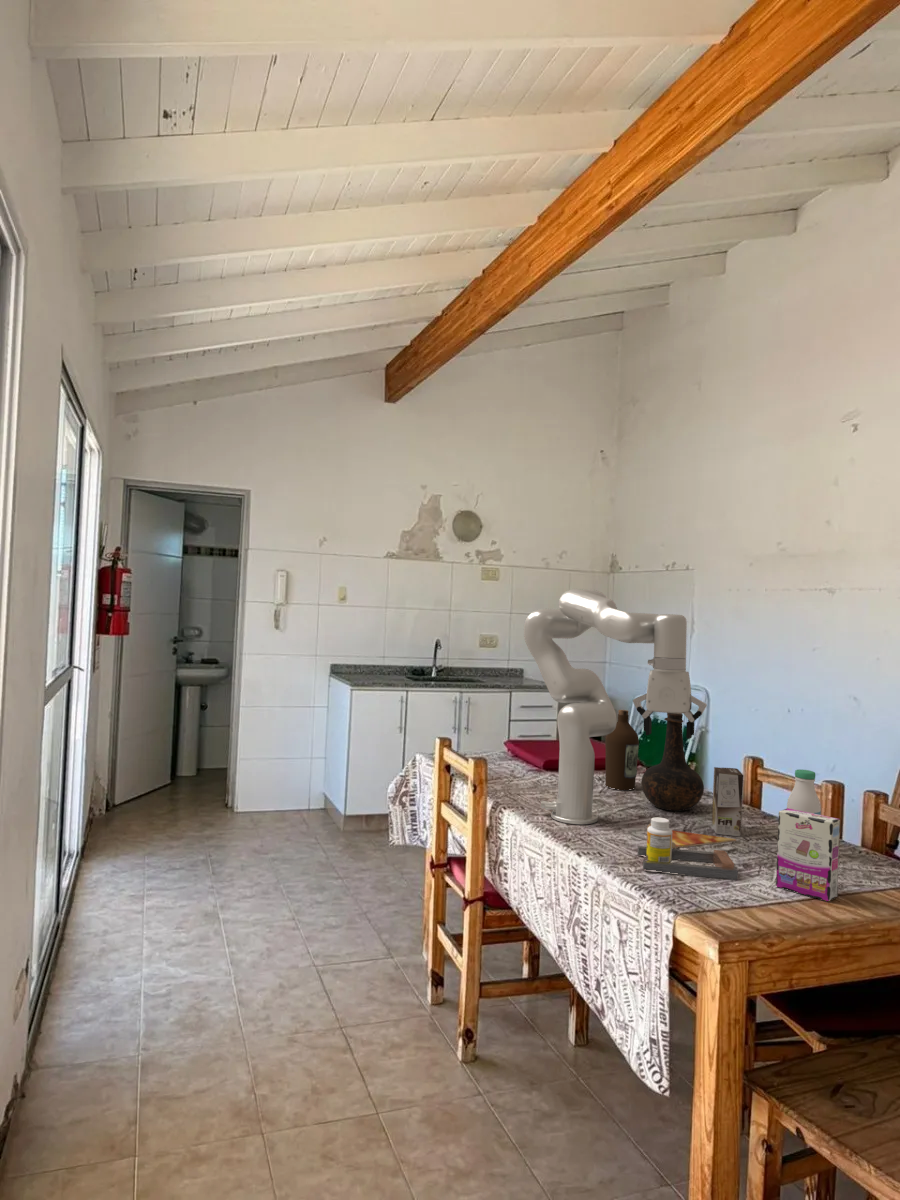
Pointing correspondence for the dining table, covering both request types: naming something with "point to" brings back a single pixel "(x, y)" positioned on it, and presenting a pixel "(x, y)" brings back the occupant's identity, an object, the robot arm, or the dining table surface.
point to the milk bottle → (804, 793)
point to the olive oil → (621, 754)
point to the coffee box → (727, 801)
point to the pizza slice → (694, 839)
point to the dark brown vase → (673, 773)
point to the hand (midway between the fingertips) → (668, 736)
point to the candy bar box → (808, 853)
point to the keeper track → (717, 857)
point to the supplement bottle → (659, 841)
